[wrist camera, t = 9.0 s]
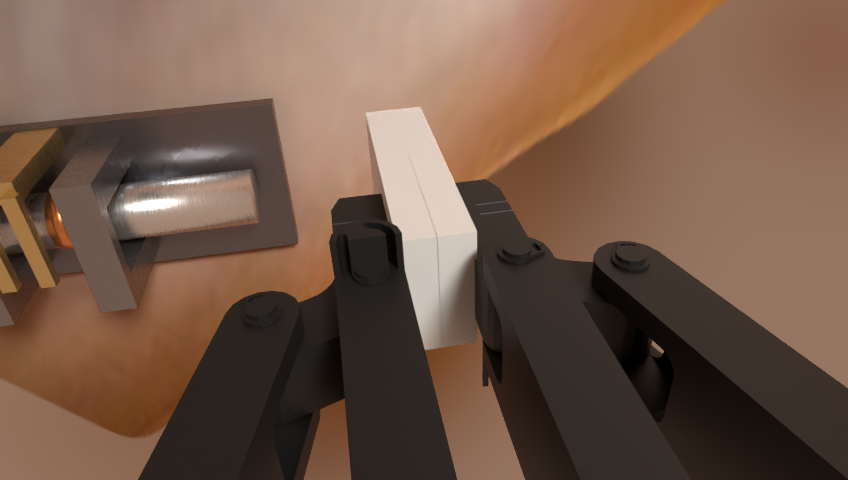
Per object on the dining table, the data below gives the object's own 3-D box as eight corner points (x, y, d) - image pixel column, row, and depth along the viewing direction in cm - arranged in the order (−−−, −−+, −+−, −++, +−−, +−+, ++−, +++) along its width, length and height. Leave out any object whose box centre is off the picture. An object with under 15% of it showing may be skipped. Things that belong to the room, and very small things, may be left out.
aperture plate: (12, 132, 42) (-50, 193, 35) (61, 127, 43) (10, 187, 35) (51, 220, 46) (2, 293, 39) (96, 215, 47) (56, 286, 39)
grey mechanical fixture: (-80, 134, 43) (-159, 193, 35) (272, 98, 45) (266, 146, 38) (-6, 274, 49) (-60, 349, 42) (298, 236, 52) (297, 299, 45)
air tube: (-10, 240, 46) (-36, 273, 43) (-36, 189, 44) (-65, 219, 40) (262, 207, 48) (259, 236, 45) (251, 157, 46) (247, 183, 43)
